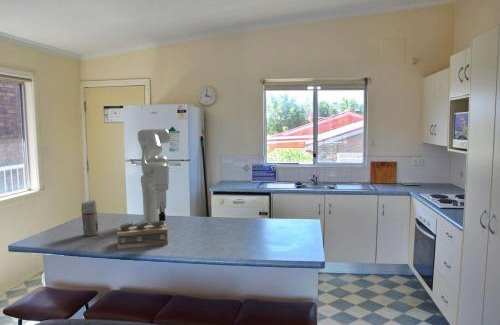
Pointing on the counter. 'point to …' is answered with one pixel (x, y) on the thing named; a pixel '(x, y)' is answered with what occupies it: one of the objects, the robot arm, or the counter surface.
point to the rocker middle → (142, 224)
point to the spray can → (89, 218)
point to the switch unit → (142, 236)
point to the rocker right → (157, 222)
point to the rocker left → (126, 225)
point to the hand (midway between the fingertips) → (162, 220)
